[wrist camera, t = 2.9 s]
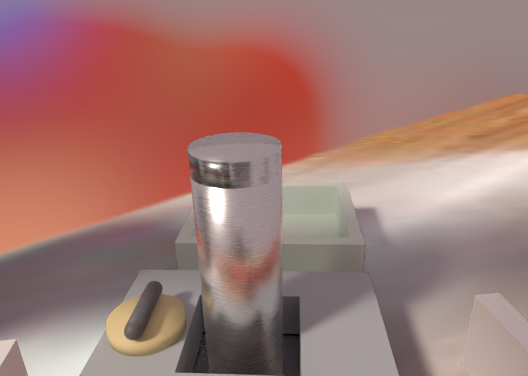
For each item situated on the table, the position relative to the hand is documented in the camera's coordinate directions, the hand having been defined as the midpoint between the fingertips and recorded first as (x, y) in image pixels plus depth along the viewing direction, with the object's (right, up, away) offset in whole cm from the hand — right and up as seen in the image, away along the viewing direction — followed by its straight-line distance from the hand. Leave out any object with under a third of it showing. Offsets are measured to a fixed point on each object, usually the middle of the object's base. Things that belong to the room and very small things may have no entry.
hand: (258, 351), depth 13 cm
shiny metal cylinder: (-1, -6, +13) cm, 14 cm away
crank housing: (-1, -6, +13) cm, 14 cm away
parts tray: (+1, -1, +26) cm, 26 cm away
